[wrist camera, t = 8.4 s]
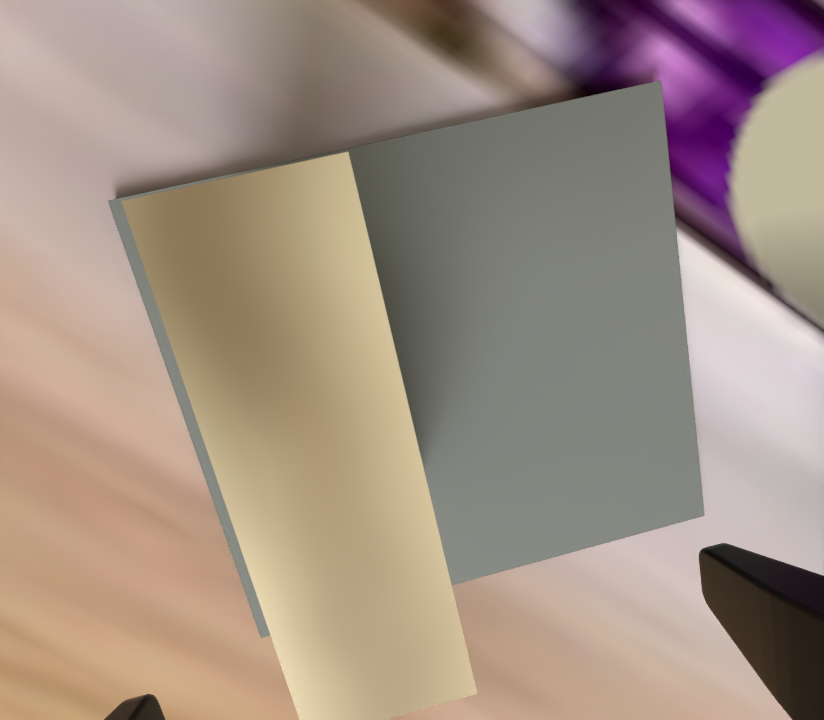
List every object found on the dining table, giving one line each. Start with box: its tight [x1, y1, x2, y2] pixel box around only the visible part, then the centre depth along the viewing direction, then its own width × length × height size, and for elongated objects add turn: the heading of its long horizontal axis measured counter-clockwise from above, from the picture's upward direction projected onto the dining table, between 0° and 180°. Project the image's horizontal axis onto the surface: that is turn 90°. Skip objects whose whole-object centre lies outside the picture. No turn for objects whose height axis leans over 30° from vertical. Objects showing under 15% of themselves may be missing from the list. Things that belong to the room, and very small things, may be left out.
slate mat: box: [108, 81, 704, 638], centre depth 19 cm, size 20×18×1 cm
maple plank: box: [121, 152, 477, 720], centre depth 12 cm, size 4×12×4 cm, turn 13°
